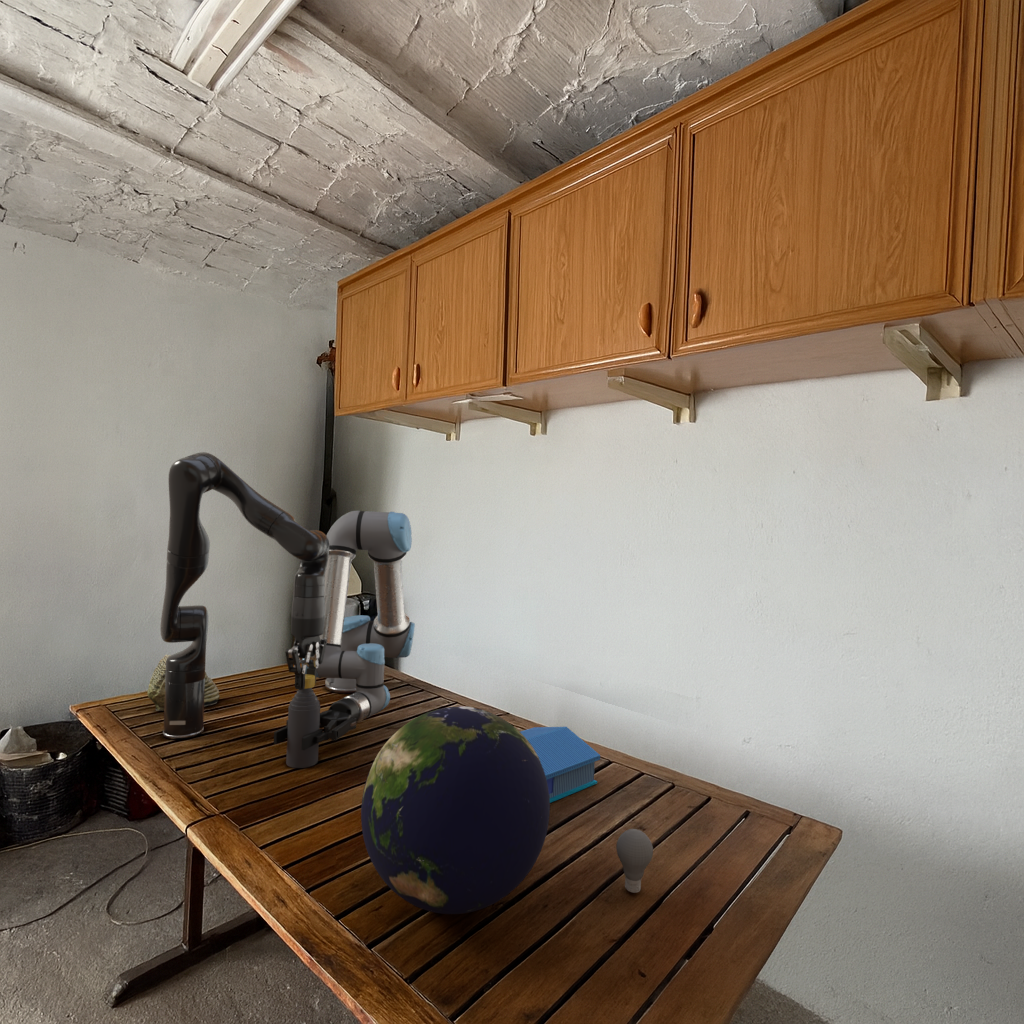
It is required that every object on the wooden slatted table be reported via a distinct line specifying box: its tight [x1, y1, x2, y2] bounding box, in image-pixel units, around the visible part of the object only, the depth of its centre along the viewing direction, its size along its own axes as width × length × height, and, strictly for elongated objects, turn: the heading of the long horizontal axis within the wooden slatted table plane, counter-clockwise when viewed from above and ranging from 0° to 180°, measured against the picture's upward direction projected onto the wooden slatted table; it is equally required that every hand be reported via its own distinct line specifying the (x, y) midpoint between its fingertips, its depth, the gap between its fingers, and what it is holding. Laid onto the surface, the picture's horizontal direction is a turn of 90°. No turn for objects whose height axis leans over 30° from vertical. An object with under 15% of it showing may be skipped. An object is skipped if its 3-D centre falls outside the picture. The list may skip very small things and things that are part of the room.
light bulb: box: [615, 828, 654, 894], centre depth 106 cm, size 6×6×10 cm
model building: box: [519, 726, 601, 804], centre depth 139 cm, size 39×24×10 cm, turn 132°
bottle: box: [285, 687, 321, 769], centre depth 150 cm, size 7×7×20 cm
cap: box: [304, 674, 316, 689], centre depth 150 cm, size 4×4×2 cm
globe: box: [360, 705, 551, 915], centre depth 102 cm, size 30×30×30 cm
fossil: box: [147, 654, 221, 712], centre depth 185 cm, size 9×18×15 cm, turn 132°
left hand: (305, 686), depth 150 cm, fingers closed on cap, 4 cm apart
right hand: (289, 741), depth 146 cm, fingers closed on bottle, 7 cm apart
